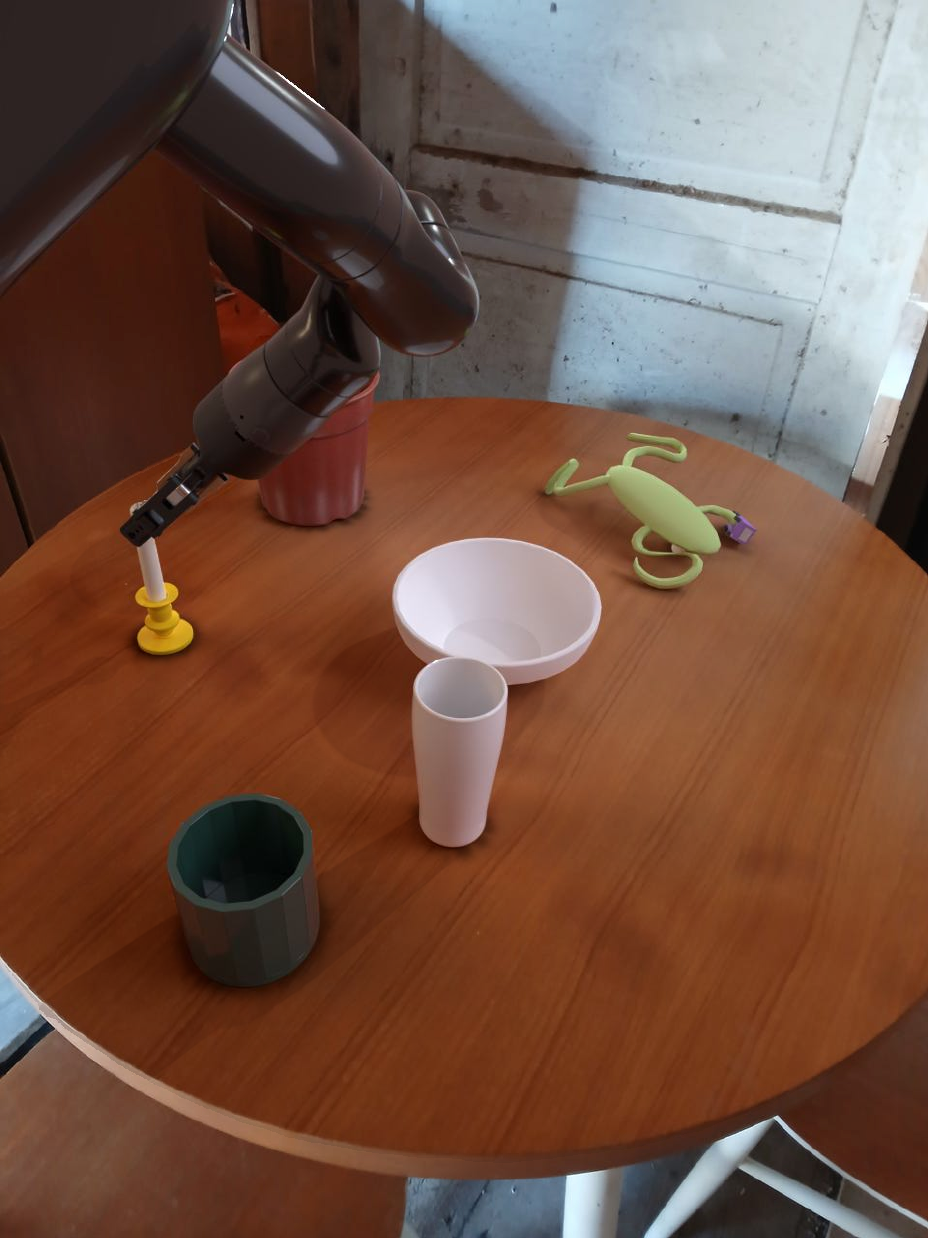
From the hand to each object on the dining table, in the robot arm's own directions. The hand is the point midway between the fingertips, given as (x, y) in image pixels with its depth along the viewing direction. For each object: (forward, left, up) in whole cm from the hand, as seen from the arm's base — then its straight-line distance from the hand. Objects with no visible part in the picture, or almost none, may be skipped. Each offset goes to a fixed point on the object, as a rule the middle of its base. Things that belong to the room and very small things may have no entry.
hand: (155, 511), depth 79 cm
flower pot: (+22, +18, -15) cm, 32 cm away
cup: (-5, -33, -15) cm, 36 cm away
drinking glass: (+12, -32, -15) cm, 37 cm away
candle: (-1, +1, -15) cm, 15 cm away
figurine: (+56, -4, -15) cm, 58 cm away
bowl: (+26, -16, -15) cm, 34 cm away
